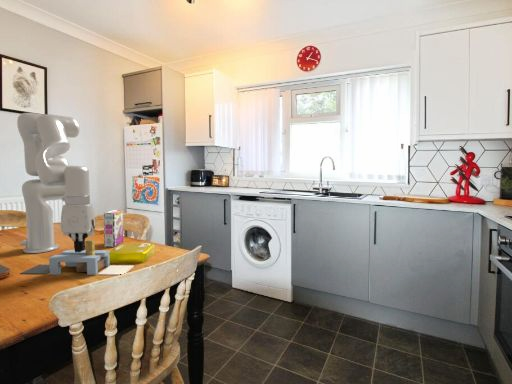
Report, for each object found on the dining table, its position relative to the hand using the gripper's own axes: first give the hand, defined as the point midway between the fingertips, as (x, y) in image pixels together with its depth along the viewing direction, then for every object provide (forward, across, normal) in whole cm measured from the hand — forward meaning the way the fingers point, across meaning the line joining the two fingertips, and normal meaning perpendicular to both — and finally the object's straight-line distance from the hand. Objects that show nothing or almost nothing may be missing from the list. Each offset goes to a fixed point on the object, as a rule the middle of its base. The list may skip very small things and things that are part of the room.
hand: (79, 251), depth 104 cm
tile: (+7, +13, 0) cm, 15 cm away
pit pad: (+7, -14, 0) cm, 16 cm away
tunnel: (+7, 0, 0) cm, 7 cm away
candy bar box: (+7, -5, +35) cm, 36 cm away
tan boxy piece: (+7, +4, 0) cm, 8 cm away
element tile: (+8, +12, +16) cm, 21 cm away
